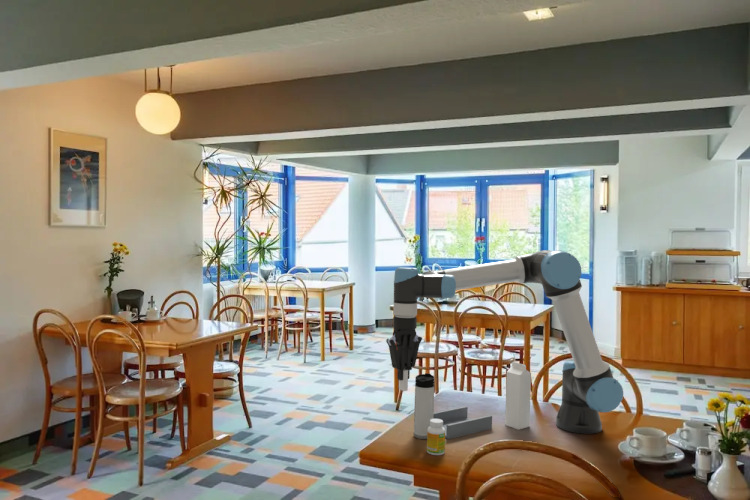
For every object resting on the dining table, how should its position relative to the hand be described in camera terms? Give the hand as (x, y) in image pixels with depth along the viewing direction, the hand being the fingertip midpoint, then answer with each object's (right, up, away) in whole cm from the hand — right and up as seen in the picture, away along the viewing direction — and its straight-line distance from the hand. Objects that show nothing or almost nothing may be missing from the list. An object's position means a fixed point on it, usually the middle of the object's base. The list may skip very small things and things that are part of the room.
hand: (403, 389), depth 183 cm
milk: (+41, -17, +18) cm, 48 cm away
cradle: (+19, -17, +14) cm, 29 cm away
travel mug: (+7, -17, +5) cm, 19 cm away
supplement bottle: (+9, -17, -9) cm, 21 cm away
